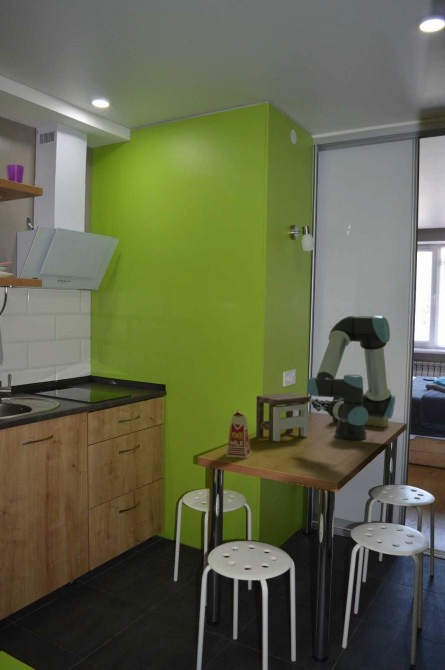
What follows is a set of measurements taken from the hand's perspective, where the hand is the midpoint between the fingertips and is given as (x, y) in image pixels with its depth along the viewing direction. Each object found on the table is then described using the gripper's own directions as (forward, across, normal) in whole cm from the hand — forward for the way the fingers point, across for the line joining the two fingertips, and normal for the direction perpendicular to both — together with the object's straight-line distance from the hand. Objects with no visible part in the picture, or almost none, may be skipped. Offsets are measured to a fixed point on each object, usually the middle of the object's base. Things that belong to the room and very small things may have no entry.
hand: (311, 400), depth 242 cm
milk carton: (-5, -38, -20) cm, 43 cm away
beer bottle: (+46, +45, -22) cm, 68 cm away
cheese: (+35, +55, -23) cm, 69 cm away
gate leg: (+15, -3, -20) cm, 26 cm away
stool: (+21, -4, -21) cm, 30 cm away
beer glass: (+55, +21, -22) cm, 63 cm away
